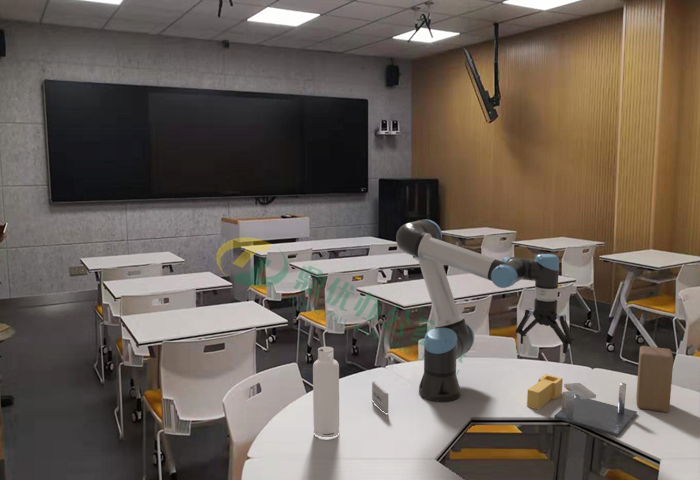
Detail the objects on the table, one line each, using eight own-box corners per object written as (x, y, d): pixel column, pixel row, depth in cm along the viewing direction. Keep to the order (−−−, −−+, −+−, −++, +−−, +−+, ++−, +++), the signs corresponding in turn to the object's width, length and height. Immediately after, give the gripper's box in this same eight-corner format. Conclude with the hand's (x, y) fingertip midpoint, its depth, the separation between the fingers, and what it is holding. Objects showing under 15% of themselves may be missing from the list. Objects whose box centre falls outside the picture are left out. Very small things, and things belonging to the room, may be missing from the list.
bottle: (330, 442, 180) (329, 355, 175) (308, 436, 184) (307, 350, 180) (344, 432, 186) (343, 347, 182) (323, 426, 191) (322, 343, 187)
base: (554, 418, 196) (556, 386, 194) (577, 398, 211) (579, 369, 210) (617, 436, 183) (619, 403, 181) (636, 414, 198) (639, 383, 197)
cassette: (389, 415, 199) (389, 393, 198) (384, 416, 198) (384, 394, 197) (375, 401, 210) (375, 380, 209) (370, 402, 209) (370, 381, 208)
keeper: (577, 411, 201) (579, 382, 199) (594, 424, 191) (596, 394, 190) (556, 412, 200) (557, 384, 198) (571, 426, 190) (573, 396, 188)
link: (544, 389, 219) (545, 374, 219) (561, 393, 215) (562, 378, 214) (523, 405, 206) (524, 388, 205) (541, 410, 202) (542, 393, 201)
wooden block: (667, 402, 208) (671, 348, 205) (669, 413, 199) (673, 357, 196) (636, 397, 212) (639, 344, 209) (636, 408, 203) (640, 353, 200)
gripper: (507, 295, 209) (505, 352, 212) (578, 306, 192) (574, 368, 196) (517, 291, 214) (514, 347, 217) (586, 302, 198) (582, 362, 201)
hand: (543, 357), depth 207 cm, fingers open, 13 cm apart
